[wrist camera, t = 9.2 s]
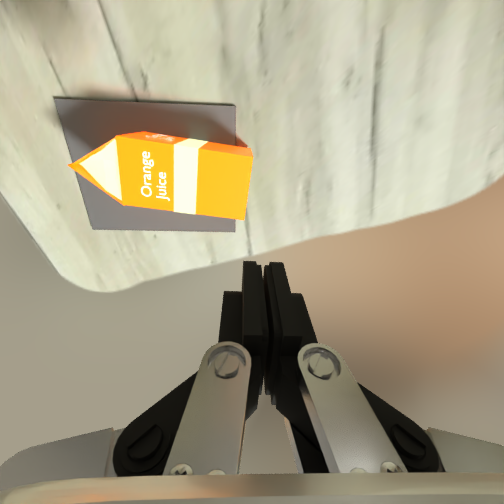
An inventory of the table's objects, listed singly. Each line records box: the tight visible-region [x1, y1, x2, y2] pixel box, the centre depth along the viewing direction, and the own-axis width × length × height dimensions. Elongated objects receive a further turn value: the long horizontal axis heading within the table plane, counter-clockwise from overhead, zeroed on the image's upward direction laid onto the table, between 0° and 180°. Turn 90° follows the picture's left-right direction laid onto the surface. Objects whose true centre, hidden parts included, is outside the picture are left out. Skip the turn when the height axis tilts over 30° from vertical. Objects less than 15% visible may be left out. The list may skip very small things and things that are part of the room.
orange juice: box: [68, 132, 253, 220], centre depth 32 cm, size 8×9×20 cm
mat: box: [54, 99, 236, 232], centre depth 36 cm, size 18×23×1 cm
